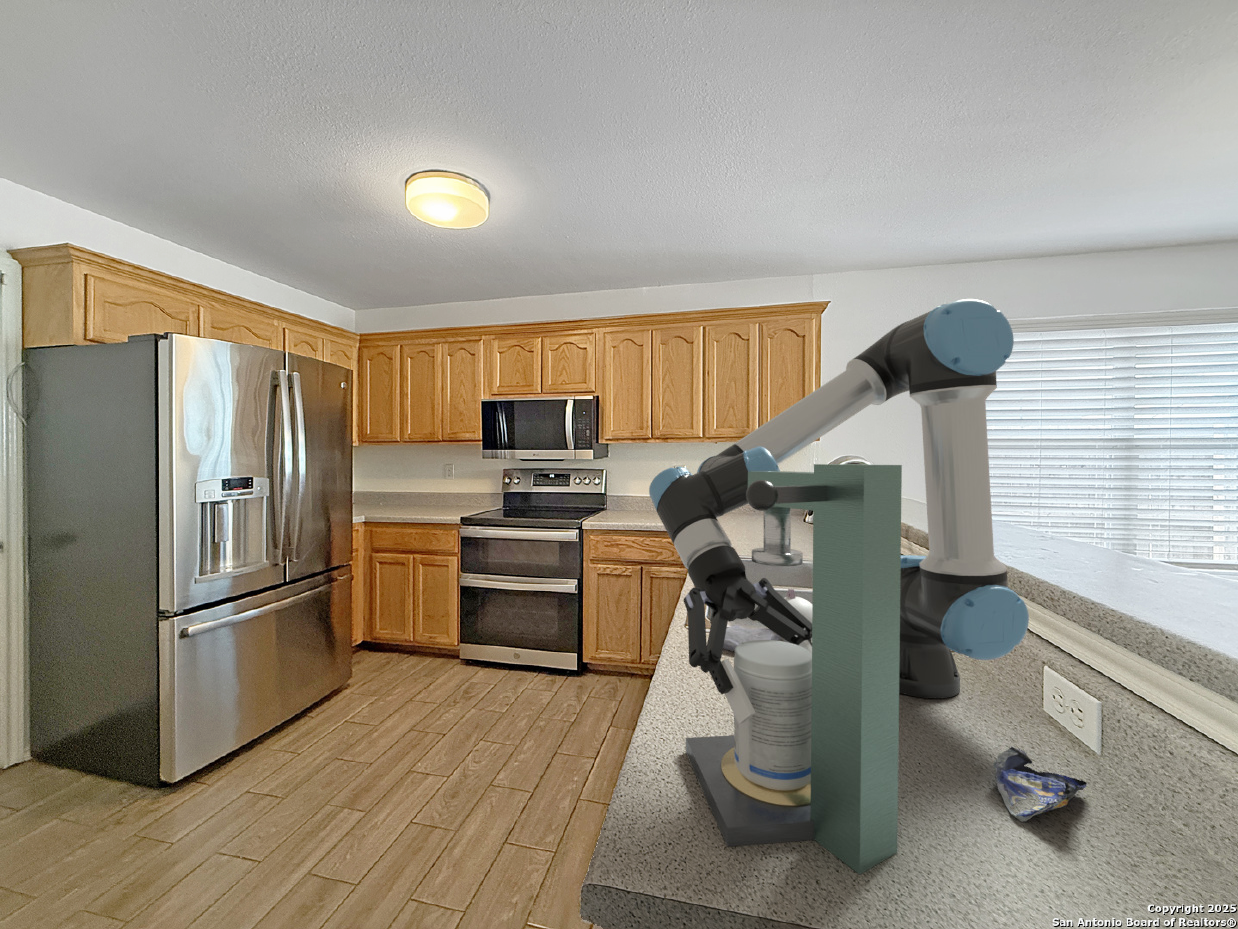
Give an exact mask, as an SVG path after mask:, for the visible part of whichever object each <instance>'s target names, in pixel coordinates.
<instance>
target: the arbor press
mask: <svg viewBox="0 0 1238 929" xmlns="http://www.w3.org/2000/svg"><path fill="white" fill-rule="evenodd" d="M902 468H903V466H902V464H861V463H860V464H858V463H857V464H853V463H851V464H849V463H848V464H844V463H843V464H842V463H841V464H838V463H837V464H835V463H833V464H832V463H831V464H829V463H826V464H825V463H821V464H819V463H815V464H813V471H786V470H785V471H784V470H783V471H781V470H780V471H748V488H747V491H746V499H747V502H748V504H747V505H749V506H750V507H751V508H752V509H753V510H755V511H759V512H760V511H761V512H763V541H762V542H763V547H756V548H752V549H751V561H752V562H753V563H755V564H759V565H762V566H763V565H765V566H771V567H796V566H800V565H803V564H804V563H803V561H804V559H803V556H804V553H803V552H802V551H801V550H797V549H793V548H791V547H792V546H791V545H792V544H791V543H792V540H791V539H792V538H791V537H792V536H791V535H792V528H791V527H792V509H796V510H802V511H803V510H804V511H813V512H812V513H813V514H812V515H813V520H812V522H813V523H812V525H813V526H812V528H813V529H812V531H813V532H812V602H811V604H812V641H811V642H812V702H811V782H810V783H809V784H807V785H806V786H804V787H802V788H799V789H795V790H773V789H769V788H765V787H763V786H760V785H757V784H755V783H753V782H751V781H749V780H748V779H747V778H745V777H744V776H743V775H742V774H741V773H740V772H739V770H738V769H737V767H736V764H735V754H734V734H733V735H732V734H731V735H729V734H728V735H714V736H698V737H697V736H696V737H685V754H686V756H687V759H688V761H689V763H690V766H691V768H692V770H693V772H694V775H695V776H696V779H697V782H698V783H699V785H700V788H701V791H702V793H703V795H704V797H705V800H706V802H707V805H708V806H709V808H710V810H711V814H712V815H713V816H712V817H714V818H713V819H714V821H715V822H716V825H717V827H718V829H719V831H720V833H721V836H722V839H723V842H724V843H725V844H726V847H740V846H741V847H742V846H753V845H764V844H777V843H790V842H791V843H792V842H801V841H815V842H816V843H818V844H819V845H820V846H822V847H823V848H824V849H825V850H827V851H829V852H830V853H831V854H832V855H833V856H835V857H836V858H837V859H839V860H840V861H841V862H843V863H844V864H845V865H847V866H848V867H849V868H850V869H852V870H853V871H855V872H856V873H857V874H858V875H862V874H863V873H866V872H867V871H868V870H870V869H871V868H873V867H875V866H877V865H878V864H879V865H880V863H882V862H883V861H886V860H887V859H889V858H890V857H892V856H894V855H896V854H898V830H899V829H898V828H899V827H898V826H899V824H898V819H899V818H898V817H899V814H898V813H899V811H898V810H899V806H898V805H899V740H900V738H899V736H900V735H899V733H900V732H899V731H900V730H899V728H900V727H899V724H900V721H899V720H900V718H899V717H900V693H899V659H900V573H901V555H902V552H901V550H902V486H903V484H902V480H903V479H902V475H903V474H902V472H903V471H902Z"/></svg>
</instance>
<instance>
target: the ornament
mask: <svg viewBox="0 0 1238 929" xmlns="http://www.w3.org/2000/svg"><path fill="white" fill-rule="evenodd" d="M783 598H784V599H785V600H786V601H788V602H789V603H790V604H791V605H792V606H793V607H794V608H795V609H796V610H798V611H799V612H800V613H801V614H802V615H803V616H804V617H805V618H806V619H807V620H809V621H810V622H811V623H812V602H810V601H809V600H807V599H805V598H803V597H800V596H796V593H795V590H794V588H788V589H787V592H786V597H783ZM804 630H805V628H804ZM795 636H796V637H798V636H797V635H795ZM779 637H780V636H779ZM780 641H783V642H788V641H786V640H785V639H783V638H782V637H780ZM811 642H812V638H811ZM788 643H789V642H788Z"/></svg>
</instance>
